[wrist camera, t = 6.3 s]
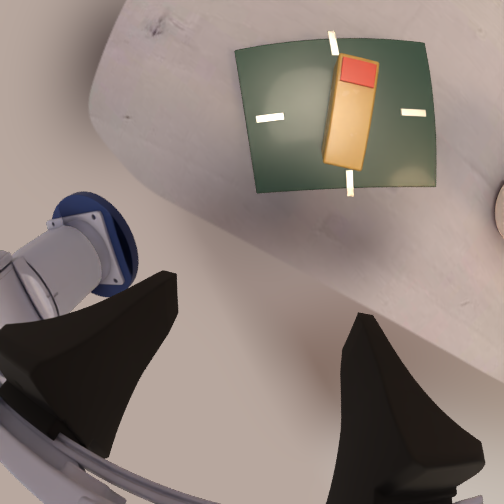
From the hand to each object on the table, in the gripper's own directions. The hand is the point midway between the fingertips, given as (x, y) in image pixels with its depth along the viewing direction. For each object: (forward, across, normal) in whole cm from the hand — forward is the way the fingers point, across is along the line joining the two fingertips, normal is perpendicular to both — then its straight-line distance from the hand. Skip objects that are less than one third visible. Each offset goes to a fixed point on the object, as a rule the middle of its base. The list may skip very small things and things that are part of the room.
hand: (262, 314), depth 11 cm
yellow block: (+6, -2, -8) cm, 10 cm away
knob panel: (+9, -2, -8) cm, 12 cm away
